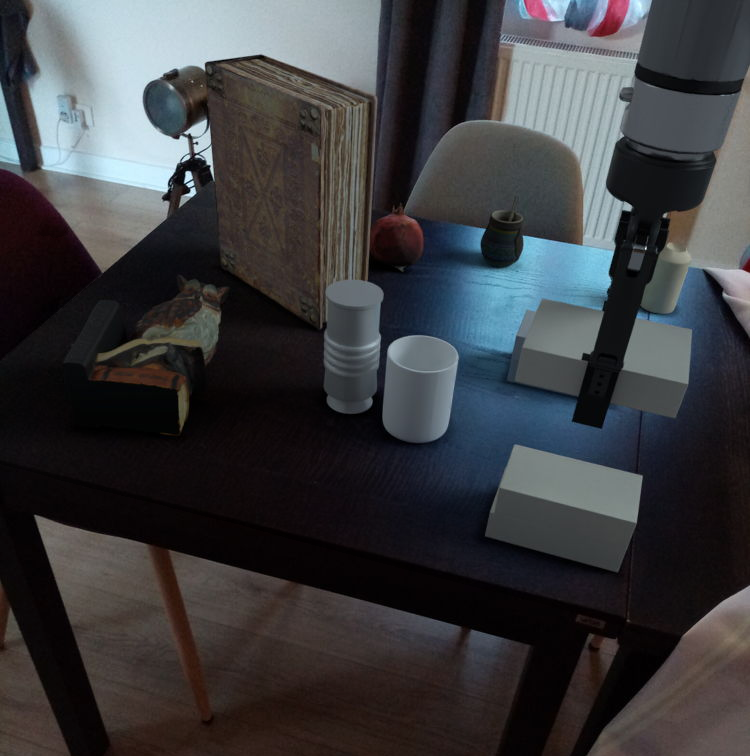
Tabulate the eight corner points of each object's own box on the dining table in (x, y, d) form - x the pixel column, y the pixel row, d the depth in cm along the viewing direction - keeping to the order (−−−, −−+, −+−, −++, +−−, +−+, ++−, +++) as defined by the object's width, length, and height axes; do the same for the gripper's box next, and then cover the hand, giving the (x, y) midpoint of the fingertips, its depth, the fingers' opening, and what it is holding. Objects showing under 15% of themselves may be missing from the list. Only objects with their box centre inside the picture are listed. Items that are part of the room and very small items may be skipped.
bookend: (55, 368, 86) (116, 250, 103) (80, 440, 94) (133, 319, 111) (188, 374, 86) (228, 255, 103) (202, 446, 94) (237, 324, 111)
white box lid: (680, 362, 74) (692, 329, 72) (675, 418, 67) (688, 384, 65) (534, 330, 77) (541, 297, 75) (514, 381, 70) (522, 347, 67)
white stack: (624, 523, 86) (643, 474, 81) (617, 572, 80) (636, 523, 75) (500, 490, 89) (511, 441, 84) (484, 536, 83) (495, 486, 78)
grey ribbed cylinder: (339, 380, 104) (342, 274, 94) (385, 395, 102) (394, 289, 92) (312, 404, 99) (313, 296, 89) (360, 422, 97) (366, 312, 87)
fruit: (405, 281, 127) (410, 221, 120) (356, 265, 130) (359, 205, 124) (432, 262, 133) (439, 203, 126) (385, 247, 136) (389, 189, 130)
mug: (389, 387, 103) (395, 316, 97) (451, 394, 103) (462, 324, 96) (377, 440, 94) (383, 367, 88) (445, 449, 94) (456, 376, 87)
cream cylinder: (649, 315, 123) (669, 254, 116) (633, 299, 127) (651, 239, 120) (680, 313, 124) (701, 253, 118) (663, 297, 128) (682, 238, 121)
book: (366, 312, 118) (379, 97, 98) (319, 331, 113) (322, 107, 93) (266, 253, 132) (259, 52, 112) (220, 267, 127) (204, 60, 107)
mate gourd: (474, 266, 133) (482, 207, 126) (482, 249, 138) (491, 192, 131) (516, 274, 131) (527, 215, 125) (523, 256, 137) (534, 199, 130)
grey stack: (616, 374, 109) (630, 330, 104) (610, 405, 103) (624, 359, 99) (518, 353, 112) (527, 308, 107) (506, 381, 106) (516, 335, 102)
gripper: (630, 99, 68) (572, 329, 82) (599, 182, 51) (533, 450, 66) (720, 113, 66) (644, 344, 81) (718, 203, 50) (623, 472, 64)
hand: (594, 392), depth 73 cm, fingers closed on white box lid, 10 cm apart
